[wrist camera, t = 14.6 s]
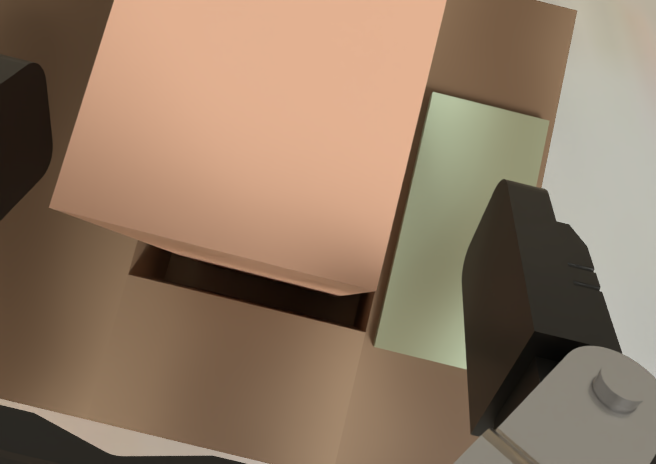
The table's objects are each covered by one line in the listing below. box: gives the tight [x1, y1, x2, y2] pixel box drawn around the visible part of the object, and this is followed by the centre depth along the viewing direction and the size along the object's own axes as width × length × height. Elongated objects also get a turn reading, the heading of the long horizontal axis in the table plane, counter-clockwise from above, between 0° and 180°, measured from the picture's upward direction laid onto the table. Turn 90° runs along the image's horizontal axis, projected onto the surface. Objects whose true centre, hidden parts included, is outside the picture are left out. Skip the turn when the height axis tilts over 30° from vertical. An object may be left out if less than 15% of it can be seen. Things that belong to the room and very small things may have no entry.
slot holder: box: [0, 0, 577, 464], centre depth 16 cm, size 24×12×5 cm, turn 76°
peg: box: [49, 0, 447, 297], centre depth 12 cm, size 4×4×10 cm
